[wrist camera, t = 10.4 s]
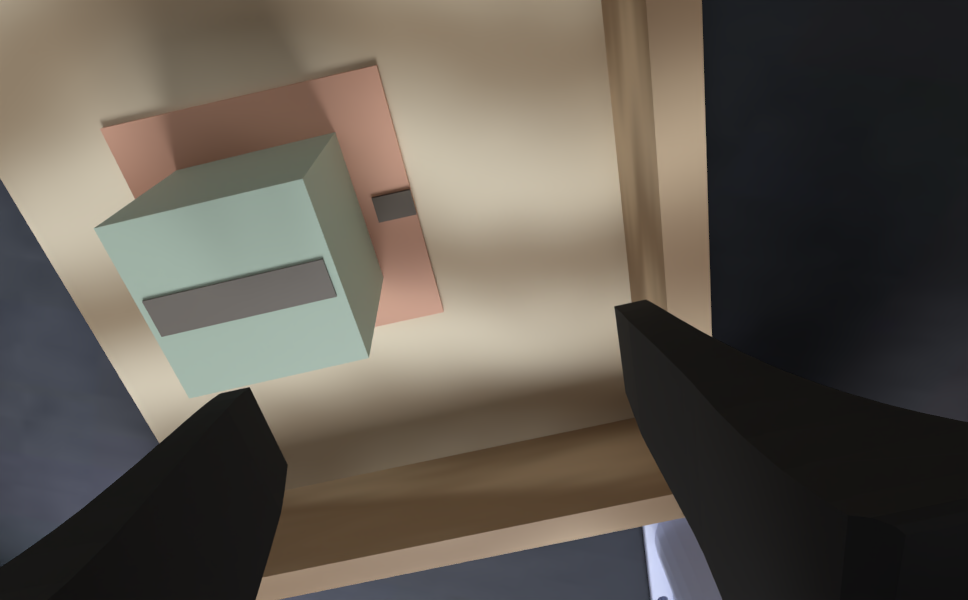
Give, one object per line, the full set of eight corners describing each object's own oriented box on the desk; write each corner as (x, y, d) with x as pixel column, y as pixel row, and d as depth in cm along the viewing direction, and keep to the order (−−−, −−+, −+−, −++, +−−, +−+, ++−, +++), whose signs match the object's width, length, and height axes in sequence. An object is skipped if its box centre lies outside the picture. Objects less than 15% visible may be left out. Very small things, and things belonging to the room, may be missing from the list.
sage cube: (335, 132, 17) (301, 179, 13) (383, 277, 20) (368, 359, 15) (176, 170, 18) (91, 229, 13) (242, 310, 20) (187, 400, 15)
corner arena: (668, 420, 24) (716, 510, 20) (217, 513, 25) (172, 621, 21) (625, -145, 16) (696, -195, 11) (-71, 20, 16) (-250, 32, 12)
